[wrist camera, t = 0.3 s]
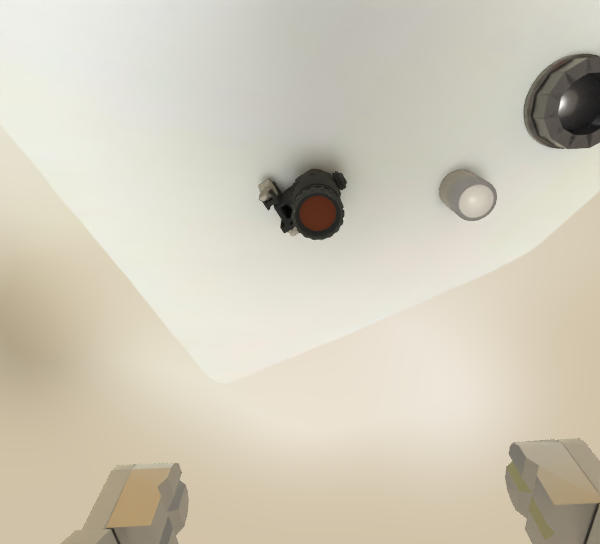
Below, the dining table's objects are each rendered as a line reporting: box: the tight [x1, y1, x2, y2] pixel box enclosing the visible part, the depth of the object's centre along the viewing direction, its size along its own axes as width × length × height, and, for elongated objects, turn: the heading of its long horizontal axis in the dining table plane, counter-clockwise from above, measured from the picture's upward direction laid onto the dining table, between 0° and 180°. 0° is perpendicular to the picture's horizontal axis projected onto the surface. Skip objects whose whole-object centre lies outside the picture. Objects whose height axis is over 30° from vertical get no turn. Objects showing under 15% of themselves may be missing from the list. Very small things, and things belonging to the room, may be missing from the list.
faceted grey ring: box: [524, 54, 600, 149], centre depth 47 cm, size 10×10×4 cm
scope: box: [258, 169, 347, 240], centre depth 48 cm, size 8×14×10 cm
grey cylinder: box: [439, 170, 497, 221], centre depth 51 cm, size 5×5×6 cm
